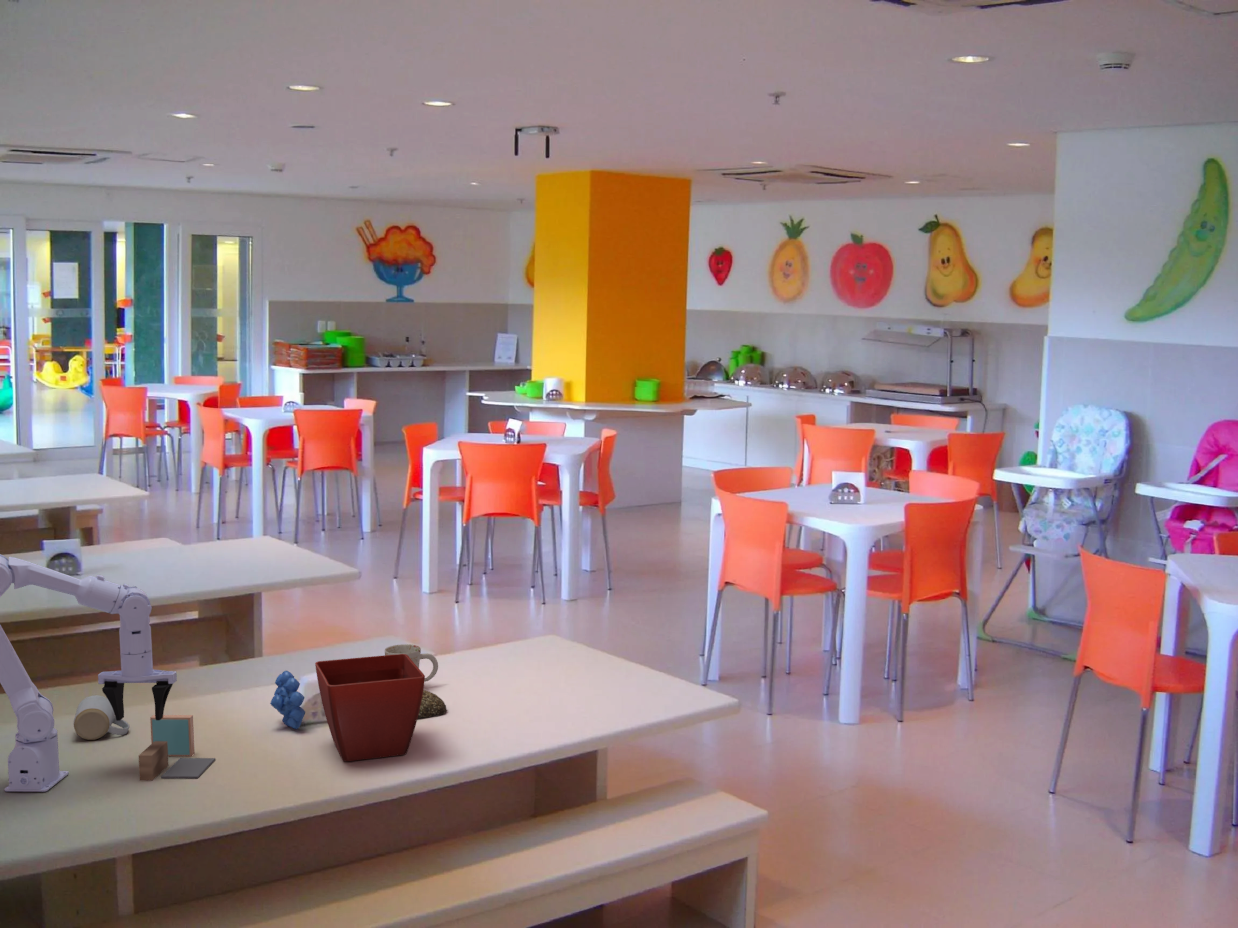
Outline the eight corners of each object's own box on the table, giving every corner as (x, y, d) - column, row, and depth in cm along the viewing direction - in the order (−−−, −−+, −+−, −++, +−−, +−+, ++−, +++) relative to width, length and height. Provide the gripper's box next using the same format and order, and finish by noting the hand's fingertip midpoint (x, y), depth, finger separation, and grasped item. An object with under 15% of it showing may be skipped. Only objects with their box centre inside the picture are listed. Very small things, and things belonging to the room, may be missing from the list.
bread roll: (450, 716, 278) (450, 695, 277) (394, 723, 273) (394, 701, 272) (437, 700, 289) (436, 679, 289) (383, 706, 285) (382, 685, 284)
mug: (381, 687, 298) (380, 646, 297) (433, 681, 304) (432, 640, 302) (390, 697, 291) (389, 655, 290) (443, 690, 296) (442, 648, 295)
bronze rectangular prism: (152, 780, 239) (151, 755, 239) (139, 780, 239) (138, 755, 239) (168, 765, 247) (167, 741, 247) (155, 765, 247) (154, 741, 247)
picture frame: (191, 756, 252) (189, 717, 251) (151, 756, 252) (149, 717, 251) (194, 753, 254) (192, 715, 253) (155, 753, 254) (153, 714, 253)
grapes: (260, 723, 272) (258, 669, 271) (290, 717, 276) (288, 664, 275) (281, 737, 263) (280, 681, 262) (312, 731, 267) (310, 676, 266)
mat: (197, 778, 240) (197, 776, 240) (161, 778, 240) (161, 776, 240) (215, 759, 250) (215, 757, 250) (180, 759, 250) (180, 757, 250)
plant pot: (408, 728, 269) (406, 651, 267) (427, 758, 251) (426, 675, 249) (316, 739, 262) (314, 660, 260) (330, 770, 244) (327, 686, 242)
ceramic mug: (73, 743, 260) (71, 707, 259) (77, 730, 268) (76, 695, 267) (128, 739, 263) (127, 703, 262) (130, 726, 271) (129, 692, 270)
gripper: (180, 645, 248) (184, 712, 249) (106, 645, 248) (110, 712, 249) (168, 654, 241) (171, 723, 242) (92, 655, 241) (96, 724, 242)
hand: (139, 718), depth 245 cm, fingers open, 7 cm apart
